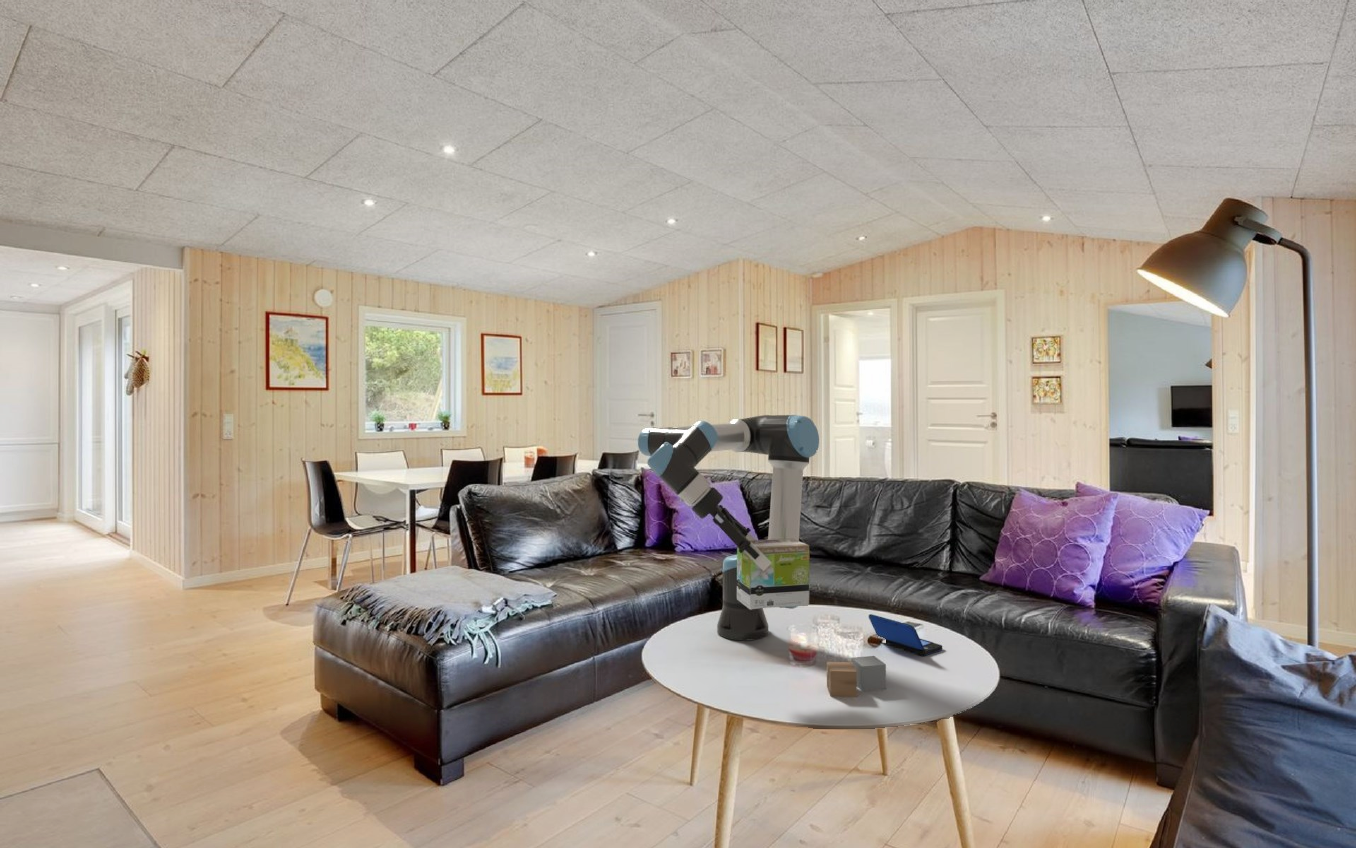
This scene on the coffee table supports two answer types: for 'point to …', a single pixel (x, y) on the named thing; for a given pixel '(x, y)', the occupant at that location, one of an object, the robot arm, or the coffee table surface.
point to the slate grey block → (870, 673)
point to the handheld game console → (902, 636)
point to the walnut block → (841, 679)
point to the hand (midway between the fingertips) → (766, 561)
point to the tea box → (774, 575)
